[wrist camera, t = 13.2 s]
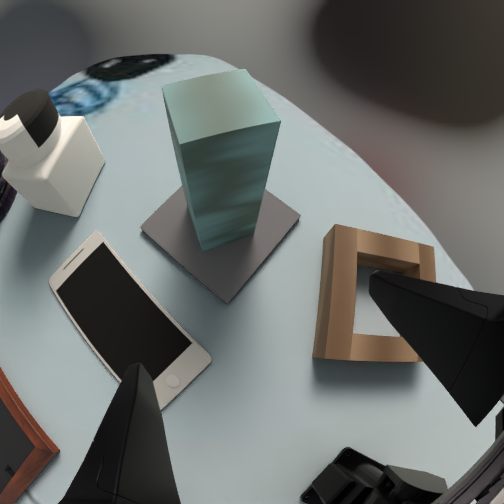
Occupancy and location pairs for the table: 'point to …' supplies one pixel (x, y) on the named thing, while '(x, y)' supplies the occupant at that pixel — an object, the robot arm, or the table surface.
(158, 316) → the smartphone
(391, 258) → the pocket block
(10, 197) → the storage jar
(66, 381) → the table surface
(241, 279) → the mat
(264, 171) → the peg
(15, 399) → the picture frame
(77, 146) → the medicine bottle
